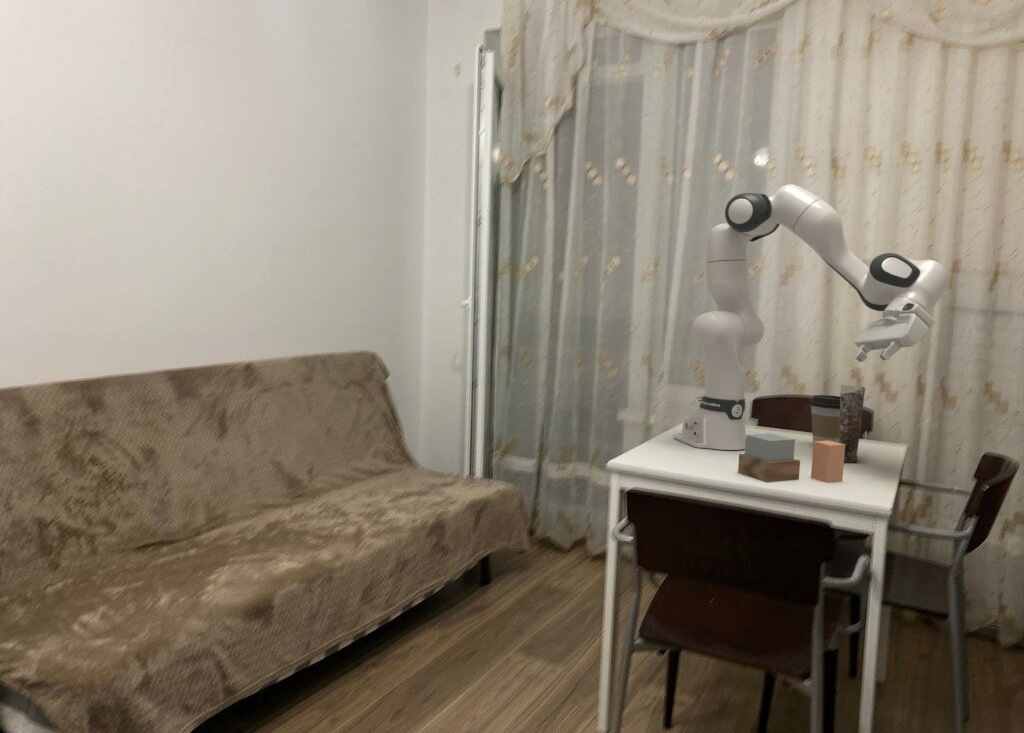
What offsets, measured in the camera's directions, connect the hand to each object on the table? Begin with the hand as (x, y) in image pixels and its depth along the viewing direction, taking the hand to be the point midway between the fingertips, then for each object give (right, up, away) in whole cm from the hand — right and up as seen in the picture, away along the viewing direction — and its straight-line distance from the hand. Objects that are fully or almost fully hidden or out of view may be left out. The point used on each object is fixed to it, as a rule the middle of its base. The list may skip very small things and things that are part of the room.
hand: (870, 359), depth 194 cm
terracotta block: (-12, -29, -2) cm, 32 cm away
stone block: (+5, -27, +24) cm, 37 cm away
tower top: (-25, -24, -1) cm, 35 cm away
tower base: (-26, -29, -1) cm, 39 cm away
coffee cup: (+5, -26, +40) cm, 48 cm away
